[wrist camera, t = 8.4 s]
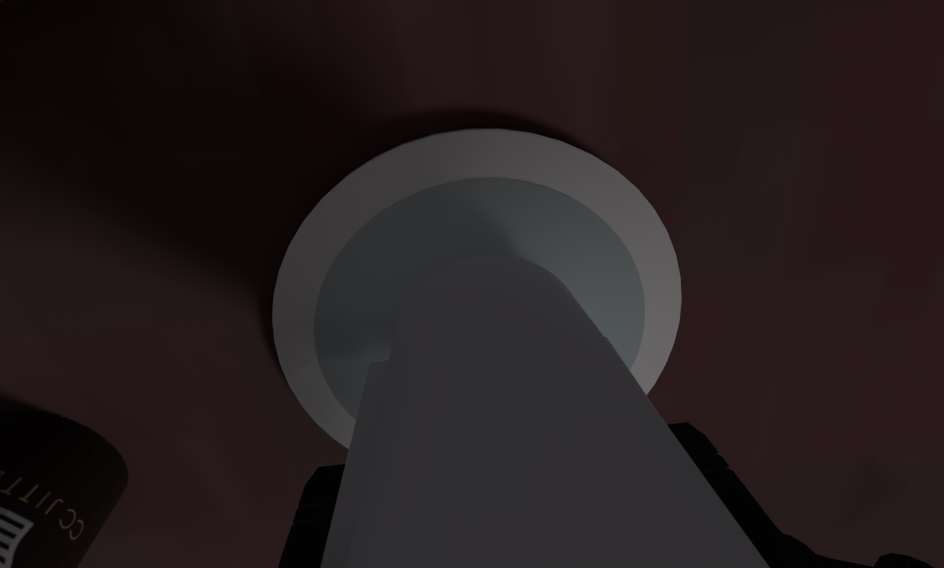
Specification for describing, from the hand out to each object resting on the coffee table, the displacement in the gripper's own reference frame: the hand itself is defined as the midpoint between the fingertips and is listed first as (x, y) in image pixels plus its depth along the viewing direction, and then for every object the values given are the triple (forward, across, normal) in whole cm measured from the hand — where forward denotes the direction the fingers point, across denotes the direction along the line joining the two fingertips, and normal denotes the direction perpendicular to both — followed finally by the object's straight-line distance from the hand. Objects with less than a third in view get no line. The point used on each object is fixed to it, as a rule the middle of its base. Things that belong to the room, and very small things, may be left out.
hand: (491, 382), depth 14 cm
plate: (+3, 0, 0) cm, 3 cm away
